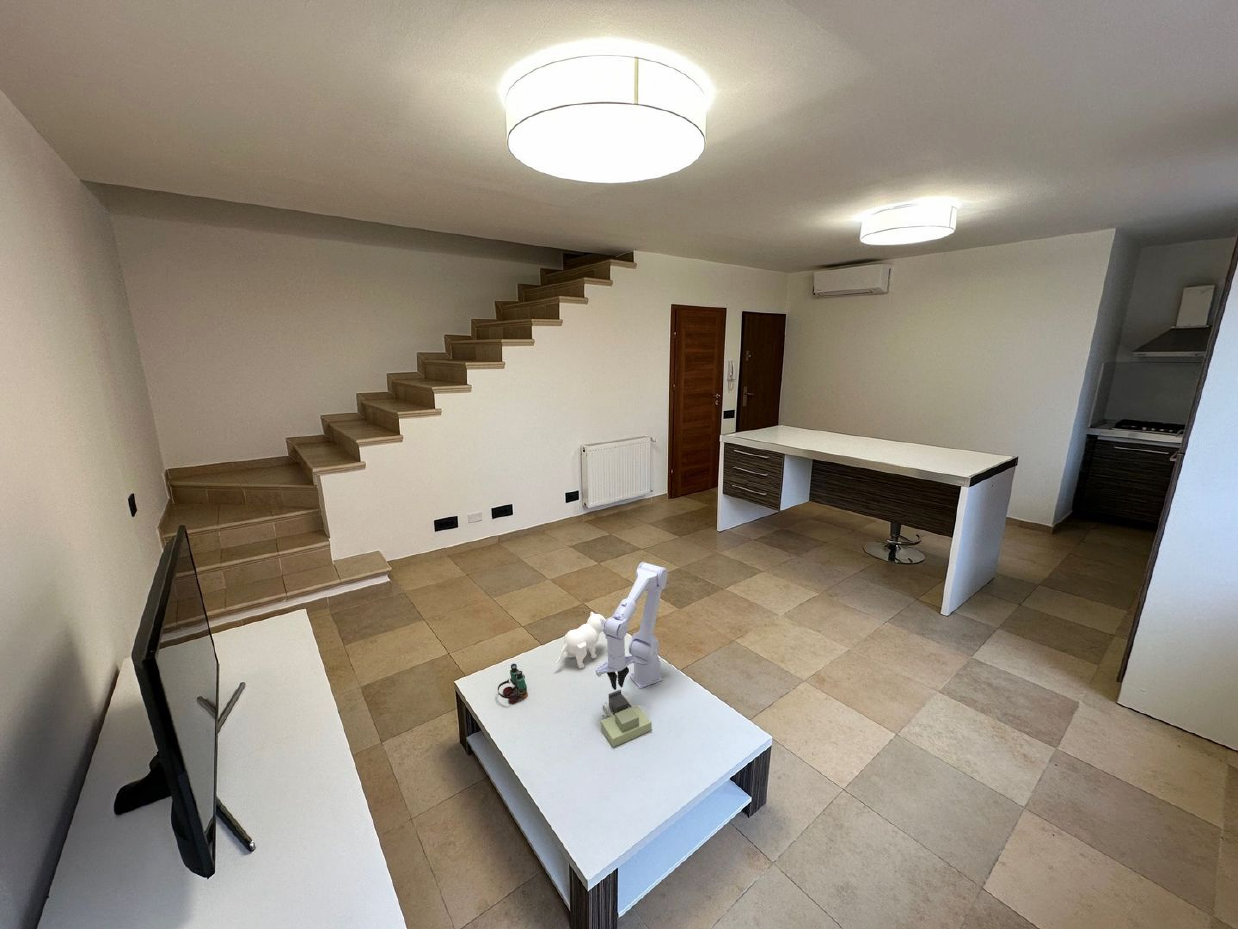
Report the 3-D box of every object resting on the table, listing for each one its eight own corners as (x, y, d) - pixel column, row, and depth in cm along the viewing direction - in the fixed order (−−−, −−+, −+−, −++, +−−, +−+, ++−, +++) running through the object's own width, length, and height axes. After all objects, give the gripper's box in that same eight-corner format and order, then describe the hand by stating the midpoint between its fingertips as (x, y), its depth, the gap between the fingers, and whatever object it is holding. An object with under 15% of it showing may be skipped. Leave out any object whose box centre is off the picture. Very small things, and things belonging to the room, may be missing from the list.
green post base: (627, 697, 171) (626, 683, 169) (651, 730, 157) (651, 714, 155) (590, 712, 165) (590, 697, 163) (612, 747, 150) (612, 731, 149)
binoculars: (491, 673, 171) (516, 659, 176) (496, 696, 174) (521, 682, 180) (501, 686, 164) (528, 671, 169) (507, 711, 167) (533, 695, 173)
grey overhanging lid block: (620, 701, 169) (620, 689, 168) (628, 712, 164) (628, 700, 163) (608, 706, 167) (608, 694, 166) (616, 717, 162) (616, 705, 161)
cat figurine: (563, 680, 180) (560, 641, 176) (548, 666, 188) (546, 628, 184) (615, 652, 196) (614, 615, 191) (600, 640, 203) (598, 605, 199)
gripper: (629, 639, 167) (630, 672, 171) (591, 652, 161) (592, 686, 165) (639, 650, 161) (640, 685, 165) (600, 664, 155) (601, 700, 159)
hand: (617, 686), depth 164 cm, fingers closed
